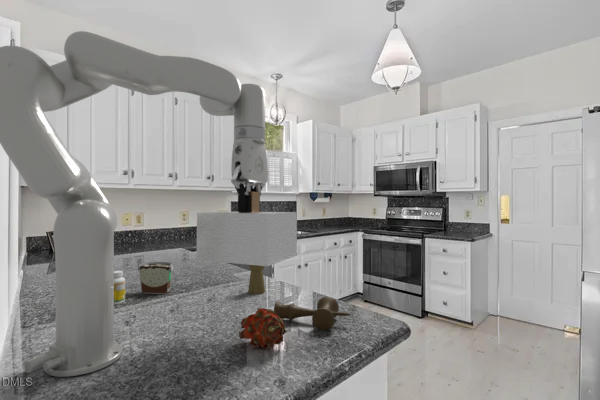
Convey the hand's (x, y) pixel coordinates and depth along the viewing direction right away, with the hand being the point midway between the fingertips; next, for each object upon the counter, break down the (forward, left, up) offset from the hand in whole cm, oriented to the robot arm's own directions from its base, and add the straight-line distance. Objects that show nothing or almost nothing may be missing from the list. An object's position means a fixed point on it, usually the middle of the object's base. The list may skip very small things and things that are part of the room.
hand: (249, 211), depth 78 cm
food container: (+21, +48, -29) cm, 60 cm away
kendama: (+11, -12, -30) cm, 34 cm away
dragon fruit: (-6, -6, -29) cm, 31 cm away
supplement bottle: (+6, +51, -29) cm, 59 cm away
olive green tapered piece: (+32, +15, -29) cm, 46 cm away
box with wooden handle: (0, 0, -11) cm, 11 cm away
